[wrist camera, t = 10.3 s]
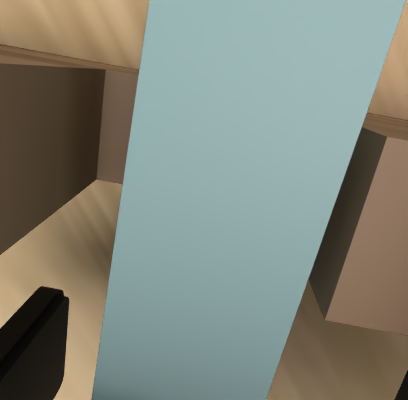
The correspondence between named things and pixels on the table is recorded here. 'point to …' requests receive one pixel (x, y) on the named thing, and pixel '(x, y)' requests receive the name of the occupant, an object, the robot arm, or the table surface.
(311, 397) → the table surface
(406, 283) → the slotted stand
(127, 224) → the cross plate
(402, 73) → the table surface
